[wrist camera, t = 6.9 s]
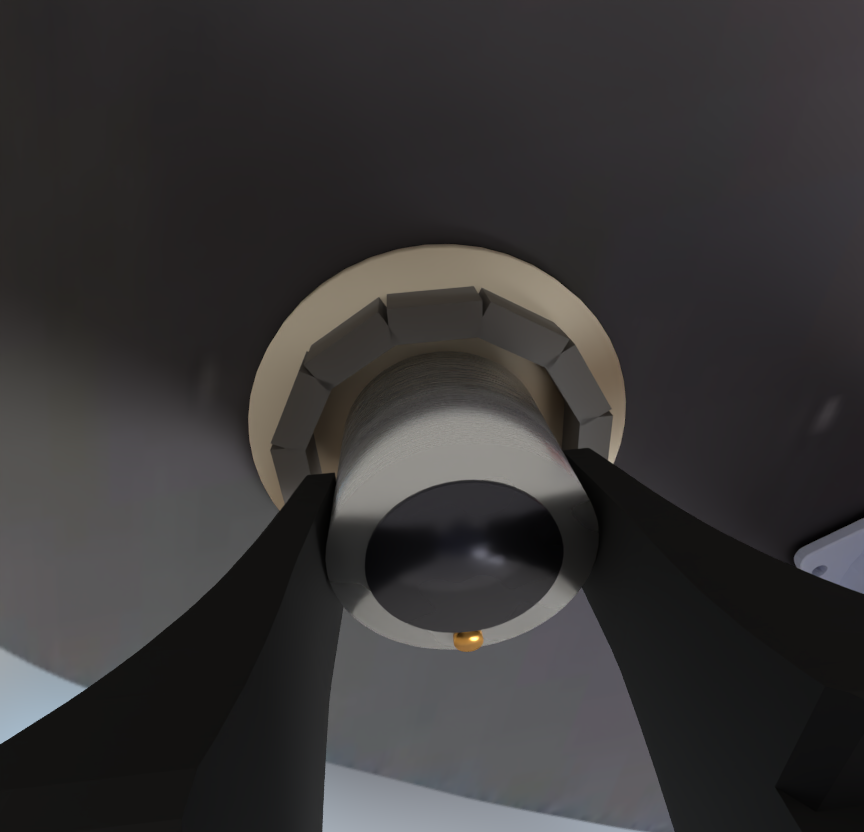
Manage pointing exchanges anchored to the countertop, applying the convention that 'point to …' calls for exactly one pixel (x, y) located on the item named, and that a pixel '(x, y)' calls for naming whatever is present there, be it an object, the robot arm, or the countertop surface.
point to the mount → (425, 333)
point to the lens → (455, 507)
